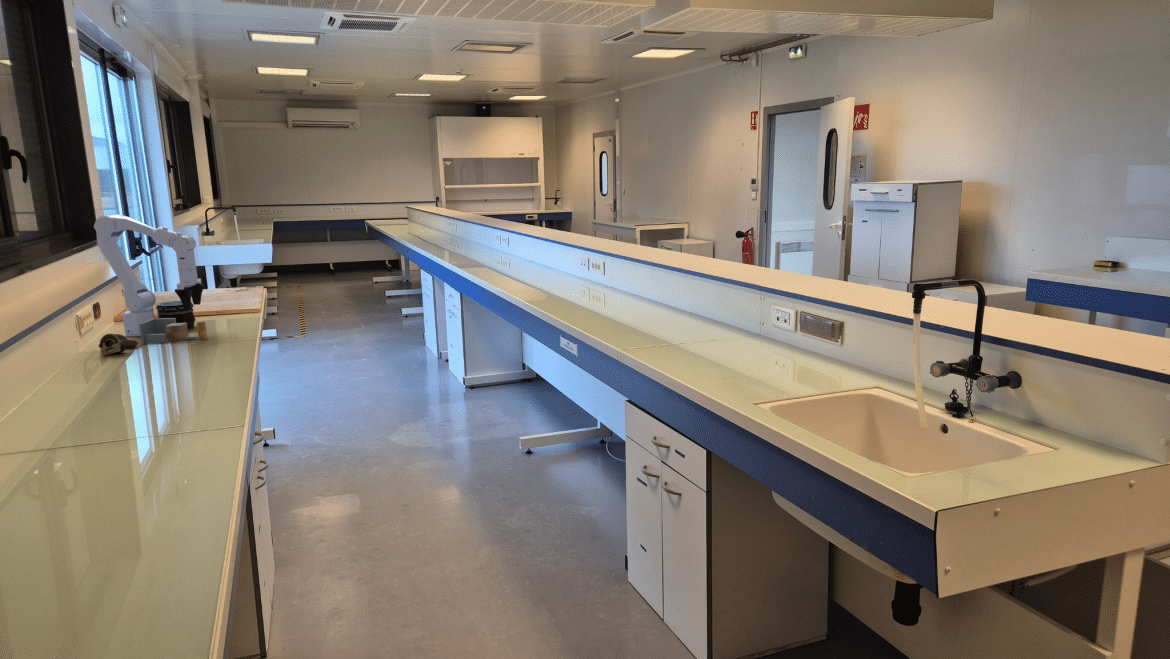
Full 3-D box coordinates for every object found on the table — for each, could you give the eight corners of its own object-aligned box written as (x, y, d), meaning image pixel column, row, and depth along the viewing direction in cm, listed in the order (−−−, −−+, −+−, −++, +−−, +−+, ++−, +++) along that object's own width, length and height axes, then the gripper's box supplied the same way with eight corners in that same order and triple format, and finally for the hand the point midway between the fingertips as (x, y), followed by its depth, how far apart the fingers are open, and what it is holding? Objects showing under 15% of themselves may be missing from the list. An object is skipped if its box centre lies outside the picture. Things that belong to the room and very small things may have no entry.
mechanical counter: (87, 339, 237) (106, 334, 233) (123, 327, 248) (142, 323, 244) (95, 360, 238) (114, 356, 234) (131, 347, 250) (150, 343, 245)
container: (203, 325, 285) (200, 299, 283) (182, 332, 272) (179, 305, 270) (172, 325, 286) (169, 300, 284) (150, 332, 273) (146, 305, 271)
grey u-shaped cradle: (141, 343, 253) (139, 324, 252) (156, 337, 263) (153, 318, 261) (164, 343, 254) (161, 323, 252) (178, 337, 263) (175, 318, 262)
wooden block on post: (167, 341, 256) (165, 324, 255) (174, 338, 261) (172, 321, 260) (202, 340, 257) (200, 323, 255) (209, 337, 261) (207, 320, 260)
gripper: (189, 271, 259) (194, 309, 261) (207, 266, 273) (212, 302, 276) (168, 272, 258) (174, 310, 261) (188, 267, 272) (192, 303, 275)
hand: (192, 306), depth 268 cm, fingers open, 7 cm apart
